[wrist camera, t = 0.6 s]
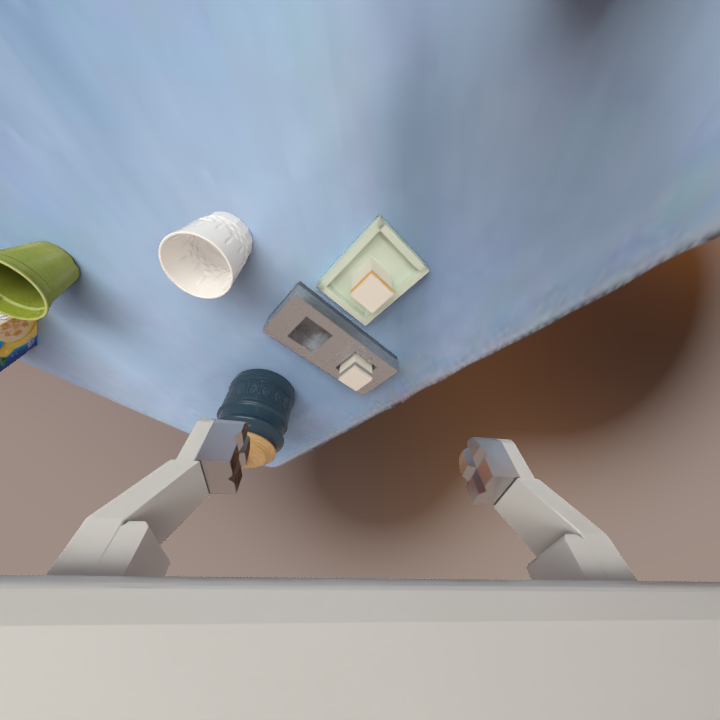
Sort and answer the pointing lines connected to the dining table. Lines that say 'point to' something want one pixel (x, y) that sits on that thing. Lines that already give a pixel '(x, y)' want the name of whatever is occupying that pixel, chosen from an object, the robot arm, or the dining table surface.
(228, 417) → the canister
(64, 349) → the dining table surface
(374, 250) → the tray
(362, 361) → the twin plug
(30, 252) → the plant pot
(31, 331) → the guava biscuit box
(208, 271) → the white cup
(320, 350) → the strip
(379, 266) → the plug
